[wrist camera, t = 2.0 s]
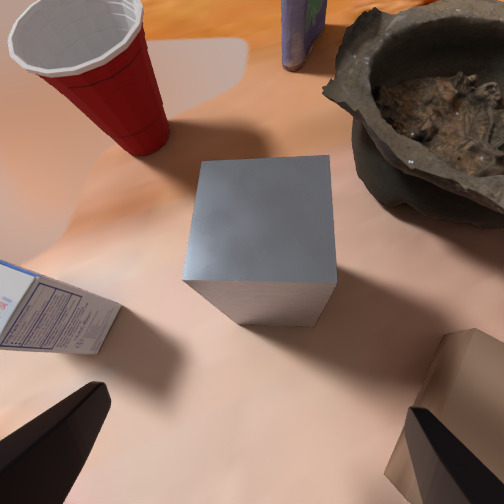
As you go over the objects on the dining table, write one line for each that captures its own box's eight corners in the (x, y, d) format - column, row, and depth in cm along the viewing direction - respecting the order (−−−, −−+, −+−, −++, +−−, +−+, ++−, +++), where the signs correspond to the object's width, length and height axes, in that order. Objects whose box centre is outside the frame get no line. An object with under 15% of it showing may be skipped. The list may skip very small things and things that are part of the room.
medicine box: (124, 305, 24) (41, 274, 16) (97, 356, 22) (-9, 350, 14) (56, 279, 26) (-49, 240, 18) (28, 325, 24) (-100, 304, 16)
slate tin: (313, 327, 21) (337, 282, 10) (237, 324, 22) (181, 279, 11) (311, 255, 23) (329, 155, 12) (242, 255, 24) (201, 161, 13)
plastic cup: (124, 193, 29) (20, 85, 18) (90, 136, 33) (-9, 21, 22) (209, 140, 30) (162, 10, 19) (166, 92, 34) (108, -37, 23)
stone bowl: (273, 198, 26) (268, 108, 18) (380, 61, 34) (411, -44, 26) (595, 351, 17) (870, 316, 9) (634, 121, 26) (799, -6, 17)
